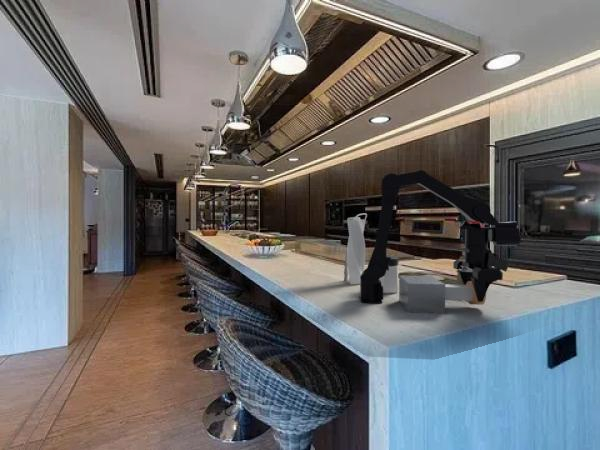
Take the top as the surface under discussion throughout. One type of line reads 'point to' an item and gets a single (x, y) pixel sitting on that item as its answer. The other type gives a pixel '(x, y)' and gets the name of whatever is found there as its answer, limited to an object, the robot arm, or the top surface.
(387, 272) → the jar
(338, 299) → the top surface
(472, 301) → the white and tan bar
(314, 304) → the top surface
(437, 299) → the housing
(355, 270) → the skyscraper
